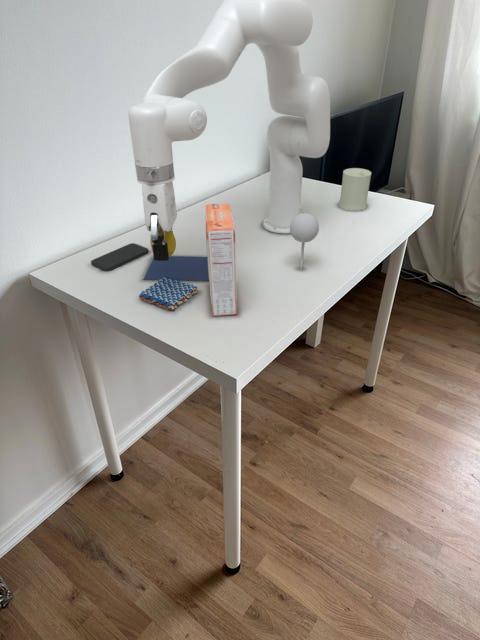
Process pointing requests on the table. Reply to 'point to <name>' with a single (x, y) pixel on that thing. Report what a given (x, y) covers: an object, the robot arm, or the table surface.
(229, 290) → the cracker box
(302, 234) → the lollipop
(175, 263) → the cloth
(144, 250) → the phone
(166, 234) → the lemon
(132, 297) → the table surface
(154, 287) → the woven mat
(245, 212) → the table surface
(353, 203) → the can
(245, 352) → the table surface
